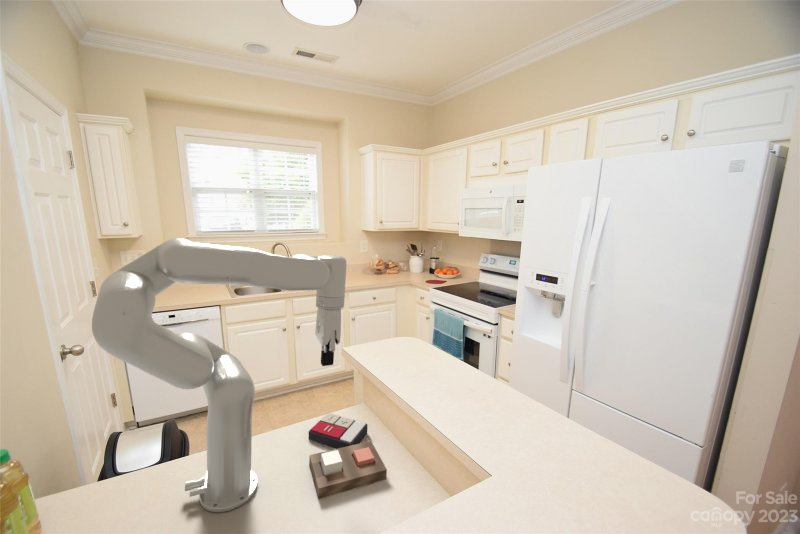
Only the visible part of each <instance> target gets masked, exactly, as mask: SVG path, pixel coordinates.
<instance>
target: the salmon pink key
mask: <svg viewBox="0 0 800 534" xmlns="http://www.w3.org/2000/svg"><path fill="white" fill-rule="evenodd" d="M353 459H354V461H355V463H356V466H357V467H361V466H364V465H368V464H372V463H374V456H373V455H372V453H371V451H370V449H369V447H367V448H363V449H359V450H354V451H353Z"/></svg>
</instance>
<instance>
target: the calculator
mask: <svg viewBox="0 0 800 534" xmlns="http://www.w3.org/2000/svg"><path fill="white" fill-rule="evenodd" d="M367 435H368V423H366V422H362V421H359V420H355V419H353V418H349V417H346V416H341V415H338V414H334V413H330V412H327V413H326V414H325V415H324V416H323V417H322V418H321V419H320V420H319V421H318V422H317V423H316V424H315V425H313V426H312V427H311V428H310V429H309V430H308V440H309V441H311V440H312V442H314V443H317V444H320V445H323V446H326V447H329V448H332V449H338V448H342V447H347V446H351V445H355V444H360V443H363V442H362V441H363V440H364V439H365V438H366V436H367Z"/></svg>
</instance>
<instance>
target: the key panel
mask: <svg viewBox="0 0 800 534" xmlns="http://www.w3.org/2000/svg"><path fill="white" fill-rule="evenodd" d="M367 447H369V449H370V451H371V453H372V455H373V456H374V463H372V464H368V465H364V466H361V467H357V466H356V463H355V461H354V459H353V451H354V450H359V449H363V448H367ZM335 450H338V452H339V454H340V457H341V459H342V472H338V473H334V474H330V475H327V476H323V474H322V470H321V454H323V453H327V452H331V451H335ZM308 460H309V461H308V462H309V463H308V465H309V469H310V474H311V477H312V481H313V484H314V489H315V492H316V496H317V500H320V499H321V500H322V499H324V498H325V499H326V498H328V497H331V496H335V495H337V494H341V493H345V492H349V491H352V490H355V489H358V488H361V487H366V486H368V485H372V484H375V483H379V482H382V481H385V480H387V472H388V469H387V467H386V465H385V464H384V462H383V459H382V458H381V456H380V454H379V452H378V451H377V449H376V447H375V445H374V443H373V441H372V440H368V441H365V442H361V443H360V444H355V445H351V446H347V447H342V448H338V449H335V448H333V449H329V450H325V451H321V452H317V453H312V454H309V459H308Z"/></svg>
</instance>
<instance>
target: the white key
mask: <svg viewBox="0 0 800 534" xmlns="http://www.w3.org/2000/svg"><path fill="white" fill-rule="evenodd" d="M321 470H322V474H323V476H327V475H330V474H334V473H338V472H342V459H341V457H340V454H339V452H338V450H335V451H331V452H327V453H323V454H321Z"/></svg>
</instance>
